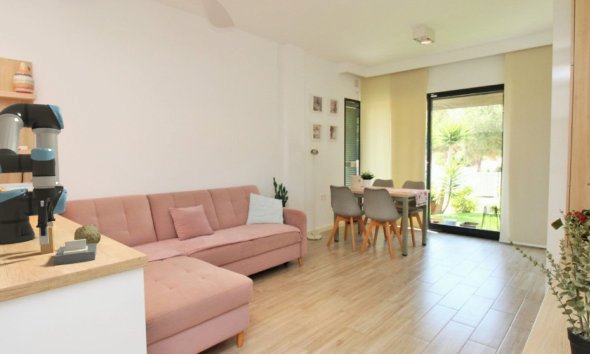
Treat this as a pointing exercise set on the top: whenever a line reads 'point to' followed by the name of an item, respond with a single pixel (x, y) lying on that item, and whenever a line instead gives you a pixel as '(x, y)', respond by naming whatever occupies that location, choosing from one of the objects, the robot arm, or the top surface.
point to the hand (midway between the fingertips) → (47, 240)
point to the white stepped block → (75, 247)
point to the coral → (88, 233)
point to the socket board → (75, 255)
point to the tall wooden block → (49, 247)
